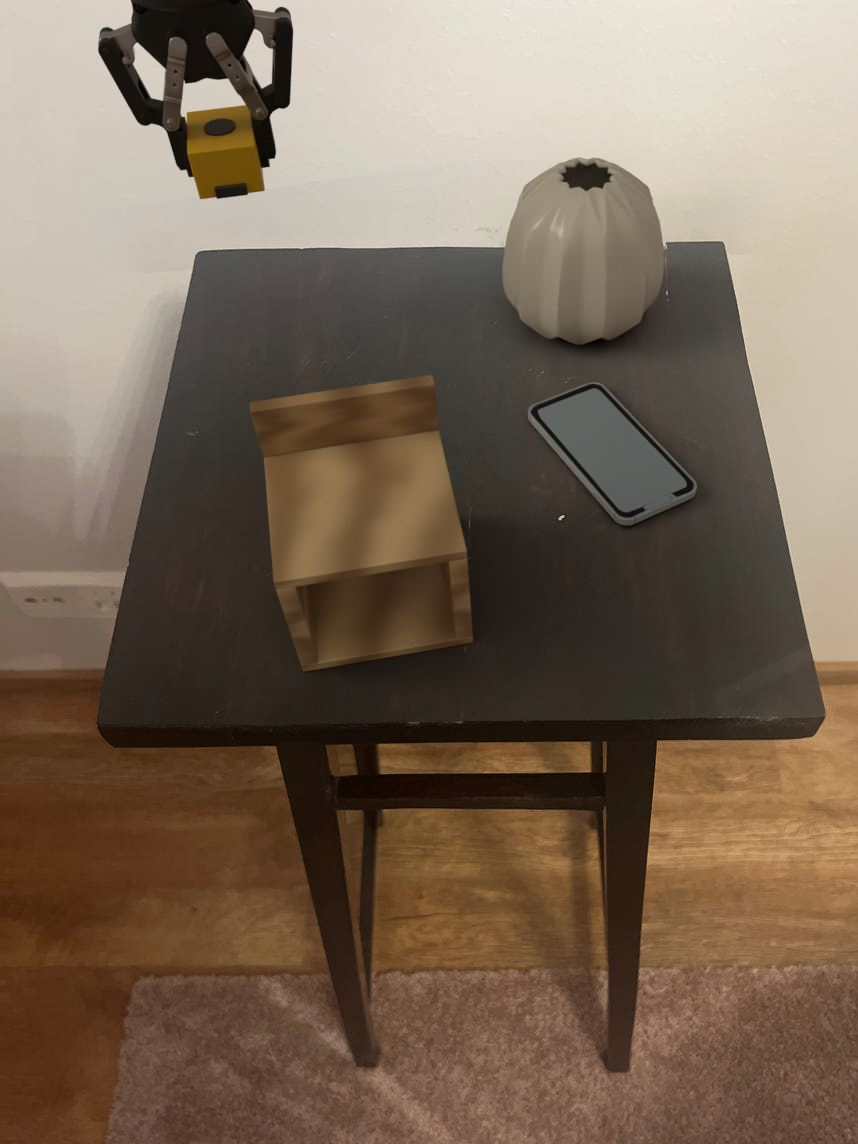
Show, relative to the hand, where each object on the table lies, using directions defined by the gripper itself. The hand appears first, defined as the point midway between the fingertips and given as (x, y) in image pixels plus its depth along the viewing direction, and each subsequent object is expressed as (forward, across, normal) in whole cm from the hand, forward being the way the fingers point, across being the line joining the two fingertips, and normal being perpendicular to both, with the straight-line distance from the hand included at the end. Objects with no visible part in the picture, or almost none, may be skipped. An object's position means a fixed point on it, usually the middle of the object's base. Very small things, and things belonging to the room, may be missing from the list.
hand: (228, 166), depth 76 cm
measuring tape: (+1, 0, 0) cm, 1 cm away
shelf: (+16, -6, +32) cm, 36 cm away
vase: (+16, -28, +4) cm, 32 cm away
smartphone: (+16, -26, +22) cm, 37 cm away
